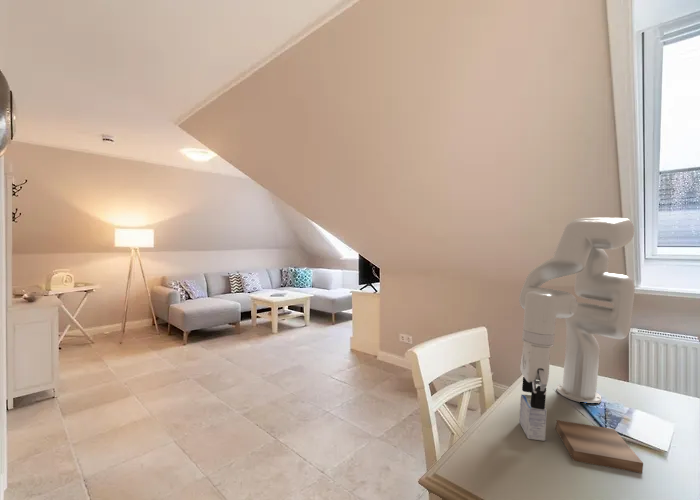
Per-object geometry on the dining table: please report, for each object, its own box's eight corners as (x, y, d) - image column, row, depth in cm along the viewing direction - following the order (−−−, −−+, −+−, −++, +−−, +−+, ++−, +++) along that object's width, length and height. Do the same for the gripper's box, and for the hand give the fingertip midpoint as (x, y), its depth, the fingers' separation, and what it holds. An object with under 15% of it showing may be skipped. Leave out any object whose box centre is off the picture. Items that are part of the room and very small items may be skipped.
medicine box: (545, 441, 90) (547, 410, 90) (526, 439, 91) (529, 407, 90) (535, 425, 98) (537, 395, 97) (518, 422, 99) (520, 393, 98)
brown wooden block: (555, 428, 96) (556, 419, 96) (613, 438, 93) (614, 429, 93) (573, 460, 83) (574, 450, 83) (642, 473, 79) (643, 463, 79)
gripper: (516, 327, 102) (511, 384, 103) (530, 345, 85) (524, 412, 86) (544, 331, 100) (539, 388, 101) (564, 349, 83) (558, 418, 84)
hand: (532, 399), depth 93 cm, fingers open, 9 cm apart
